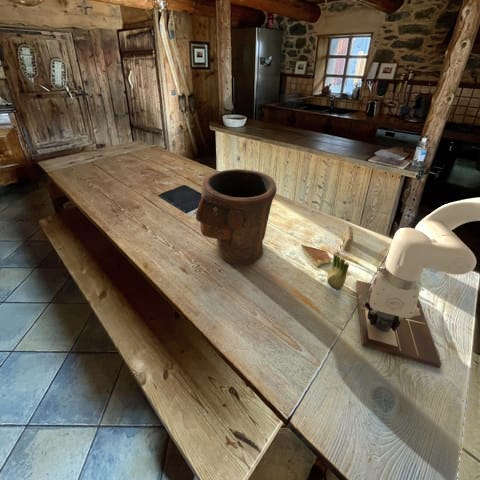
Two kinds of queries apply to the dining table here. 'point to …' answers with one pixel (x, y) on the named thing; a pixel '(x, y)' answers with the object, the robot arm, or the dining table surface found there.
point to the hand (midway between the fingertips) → (381, 322)
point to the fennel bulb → (337, 272)
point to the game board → (398, 335)
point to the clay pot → (236, 213)
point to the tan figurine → (347, 239)
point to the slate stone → (384, 321)
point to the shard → (317, 255)
